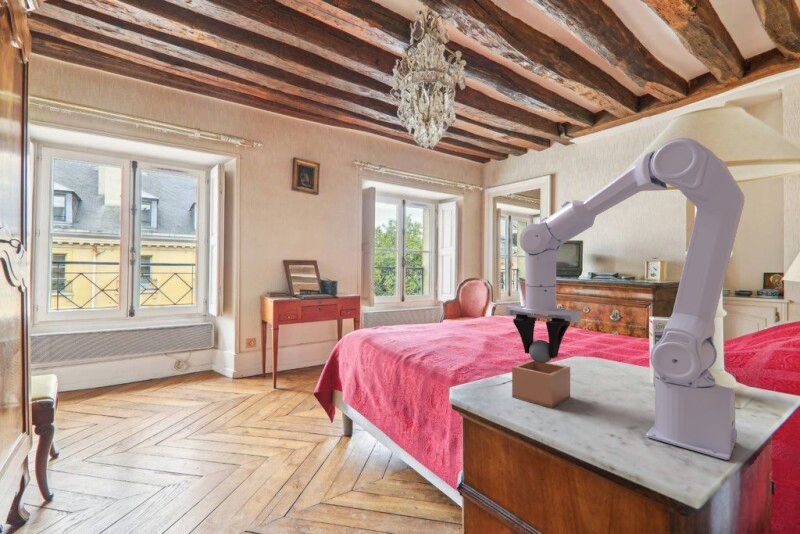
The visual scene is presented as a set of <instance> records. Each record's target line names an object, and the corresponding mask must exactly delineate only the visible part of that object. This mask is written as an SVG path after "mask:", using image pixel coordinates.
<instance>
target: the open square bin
mask: <svg viewBox="0 0 800 534" xmlns="http://www.w3.org/2000/svg"><path fill="white" fill-rule="evenodd" d="M511 384H512V385H511V387H512V388H511V398H515V399H518V400H521V401H525V402H529V403H532V404H535V405H539V406H542V407H546V408H549V409H553V408H555V407H557V406H558V405H561V403H563V402H565V401H567V400H569V399H570V398H571V366H566V365H562V364H555V363H552V362H547V363H538V362H535V361H534V360H533V359H530V360H528V361H525V362H521V363H519V364H516V365H514V366H512V367H511Z"/></svg>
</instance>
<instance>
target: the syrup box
mask: <svg viewBox="0 0 800 534" xmlns="http://www.w3.org/2000/svg"><path fill="white" fill-rule="evenodd" d="M670 317H671V316H669V317H668V316H649V319H648V320H649V321H648V324H649V326H648V329H649V330H648V332H649V334H648V335H649V338H648V339H649V341H648V342H649V354H650V353H651V350H652V348H653V346H654V345H655V344H656V343H657V342H658V341H659V340H660V339H661V338H662V336H663V332H664V328H665V326H666V324H667V322H668V321H669V319H670ZM655 371H656V370H655V369H654V368H653V366H652V363H651V359H650V358H649V380H650V382H651V384H652V386H653V387H655Z"/></svg>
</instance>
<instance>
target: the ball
mask: <svg viewBox="0 0 800 534" xmlns="http://www.w3.org/2000/svg"><path fill="white" fill-rule="evenodd" d="M529 356H530V358H531V360H534V361H535V362H538V363H550V361H551V360H552V359H553V358H549V341H547V340H543V339H537V340H535V341H534V342H533V343H532V344H531V345H530V348H529Z"/></svg>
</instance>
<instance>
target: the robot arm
mask: <svg viewBox="0 0 800 534" xmlns="http://www.w3.org/2000/svg"><path fill="white" fill-rule="evenodd" d="M667 185H668V186H671V187H674V188H675V189H677V190H679V191H680V192H681V194H682V195H684V197H686V198H687V200H688V201H690V202H691V203H692V204H693V205H694V206H695V207H696V213H695V217H694V221H693V225H692V229H691V234H690V237H689V243H688V246H687V250H686V255H685V258H684V259H685V260H684V263H683V266H682V267H683V268H682V271H681V275H680V281H679V284H678V289H677V293H676V297H675V301H674V304H673V310H672V313H671V315H670V316H669V317H670V319H669V321H668V322H667V324H666V326H665V328H664V332H663V336H662V338H661V339H660V340H659V341H658V342H657V343H656V344H655V345H654V346H653V348H652V350H651V353H650V352H649V360H650V359H651V363H652V366H653V368H654V369H655V370H656V371H655V386H654V424H653V426H652V427H651V428H650V429H649V430H648V431H647V432H646V433H645V434H646V437H647V438H650V439H652V440H656V441H659V442H664V443H666V444H670V445H673V446H677V447H681V448H684V449H688V450H691V451H695V452H698V453H702V454H704V455H708V456H712V457H715V458H718V459H723V460H725V461H726V460H730V458H731V457H732V456H731V455H732V453H733V451H734V447H735V445H736V443H737V438H738V433H737V432H738V431H737V429H736V394H735V389H734V388H732V387H728V386H723V385H720V384H717V383H716V378H715V377H714V376H713V375H712V373H711V371H709V369H710V368H712V367H713V366H714V365H715V363H716V362H717V358H718V353H717V352H718V351H717V349H716V345H715V343H714V341H715V340H714V335H715V332H716V326H715V317H716V314H717V312H718V311H717V310H718V305H719V301H720V298H721V294H722V290H723V287H724V284H725V280H726V279H725V278H726V275H727V271H728V268H729V263H730V259H731V256H732V253H733V248H734V244H735V240H736V237H737V232H738V227H739V225H740V221H741V216H742V212H743V209H744V204H745V195H744V193H743V191H742V189H741V188H740V186H739V185H738V182H737V181H736V179H735V178H734V176H733V175H732V173H731V171H730V170H729V168H728V166H727V163H726V162H725V161H724V160H722V159H721V158H720V157H718V156H717V155H716V154H715V152H713V151H712V150H711V149H709V148H707V147H706V146H705V145H703V144H701V143H700V142H698V141H697V140H695V139H693V138H690V137H676V138H672V139H670V140H668V141H665V142H664V143H662V144H661V145H660V146H659V147H658V148H657V149H656V150H651V151H650V152H649V151H648V152H647V153H646V154H644V155H643V156H642V157H641V158H639V160H637V162H635V163H634V164H633V165H631V166H630V167H629V168H628V169H626V170H625V171H623V172H622V173H620V175H618V176H617V177H616V178H614V179H613V180H611V181H610V182H609V183H607V184H606V185H604V186H603V187H602V188H600V189H598V190H597V191H596V192H595V193H593V194H592V195H591V196H588V197H587V198H586V199H585V200H583V201H582V200H576V199H574V200H573V199H572V200H571V201H564V202H562V203H561V208H560V209H557V211H556V212H554V213H552V214H551V215H549V216H548V217H546V216H545V217H543V218H541V219H540V223H529V224H527V225H526V226H525V227H524V228H523V229H522V231H521V232H520V235H519V239H518V240H519V245H520V247H521V250H523V252H524V255H525V256H524V257H525V259H524V260H525V261H524V264H525V270H524V271H525V272H524V273H525V275H524V277H525V284H524V285H525V305H515V304H514V305H512V304H509V305H505V316H515V318H512V323H513V325H514V326H515V327H516V330H517V332H518V334H519V336H520V339H521V342H522V346H523V350H524V354H529V348H530V345H531V344H532V343H533V342H535V341H534V331H535V324H536V320H537V319H544V320H545V319H547V320H549V321H545V326H546V329H547V335H548V343H549V358H552V359H555V358H558V356H559V351H560V347H561V344H562V341H563V338H564V336H565V333H566V332H567V331H568V328H569V326H570V324H571V323H575V324H576V323H579V322H581V321H582V320H581V319H582V318H581V315H582V314H581V313H582V312H581V311H580V310H573V309H572V310H571V309H565V308H559V307H558V308H557V253H558V252H559V250H560V249H561V247H562V246H563V244H564V243H566V242H568V241H570V240H571V239H573V238H575V237H577V236H578V235H580V234H582V233H583V232H585V231H587V230H588V229H590V228H592V227H593V226H594V223H595V220H596V217H597V216H598V215H600V214H602V213H604V212H606V211H608V210H609V209H611V208H613V207H614V206H617V205H618V204H620V203H622V202H623V201H626V200H627V199H629V198H631V197H633V196H635V195H636V194H639V193H640V192H643V191H660V190H661V191H662V190H667V189H668V187H667ZM529 355H530V354H529Z"/></svg>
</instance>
